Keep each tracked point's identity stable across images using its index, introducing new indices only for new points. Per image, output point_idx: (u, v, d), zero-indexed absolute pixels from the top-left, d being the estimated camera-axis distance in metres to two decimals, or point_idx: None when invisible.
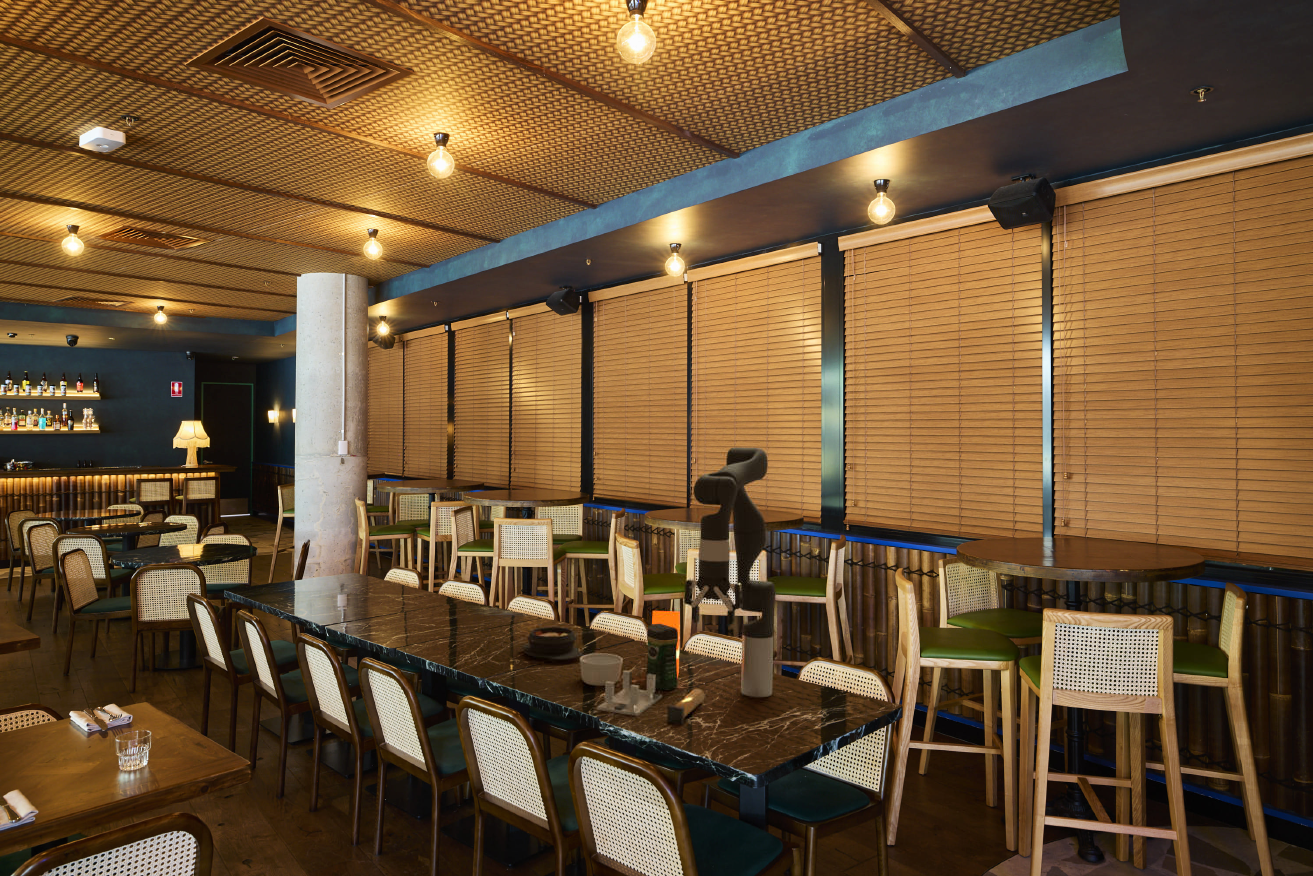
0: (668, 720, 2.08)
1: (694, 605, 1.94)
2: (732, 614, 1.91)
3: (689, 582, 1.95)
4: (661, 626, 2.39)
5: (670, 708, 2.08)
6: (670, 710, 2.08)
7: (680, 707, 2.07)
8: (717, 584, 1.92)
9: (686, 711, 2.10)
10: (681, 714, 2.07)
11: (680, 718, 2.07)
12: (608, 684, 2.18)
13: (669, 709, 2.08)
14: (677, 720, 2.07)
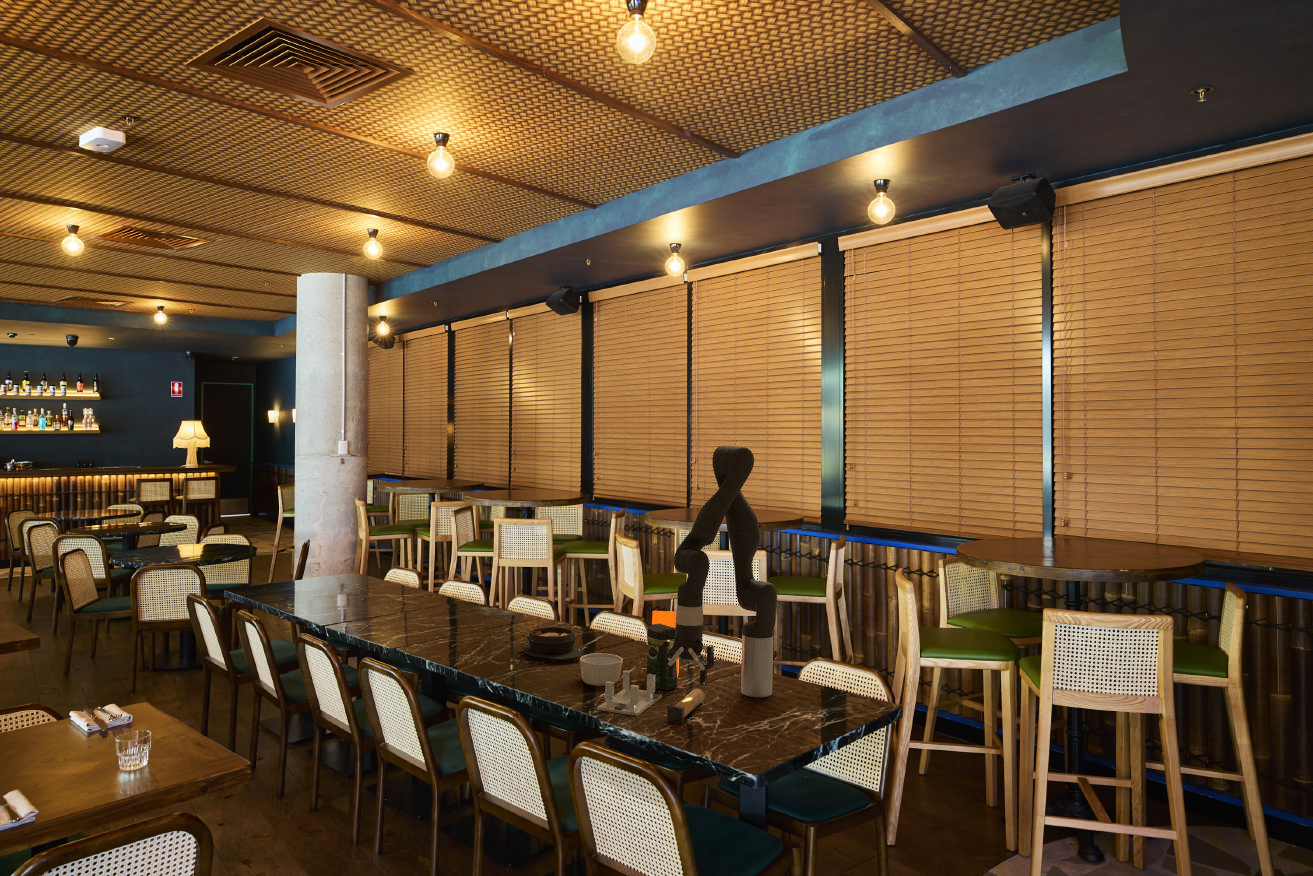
0: (668, 720, 2.08)
1: (671, 664, 2.17)
2: (704, 673, 2.14)
3: (666, 643, 2.17)
4: (661, 626, 2.39)
5: (670, 708, 2.08)
6: (670, 710, 2.08)
7: (680, 707, 2.07)
8: (691, 646, 2.15)
9: (686, 711, 2.10)
10: (681, 714, 2.07)
11: (680, 718, 2.07)
12: (608, 684, 2.18)
13: (669, 709, 2.08)
14: (677, 720, 2.07)
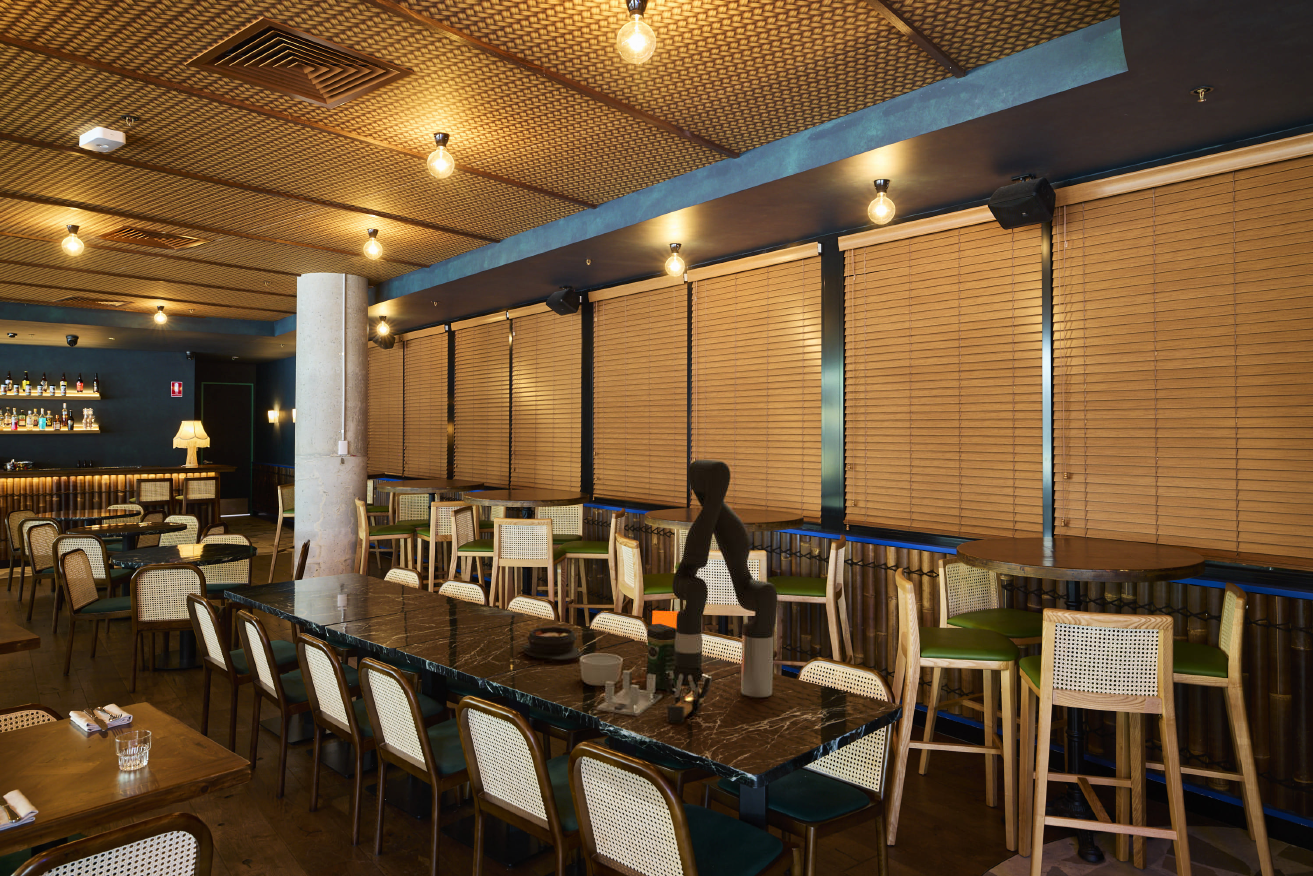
0: (668, 720, 2.08)
1: (677, 695, 2.16)
2: (697, 702, 2.15)
3: (666, 674, 2.17)
4: (661, 626, 2.39)
5: (670, 708, 2.08)
6: (670, 710, 2.08)
7: (680, 707, 2.07)
8: (691, 673, 2.15)
9: (686, 711, 2.10)
10: (681, 714, 2.07)
11: (680, 718, 2.07)
12: (608, 684, 2.18)
13: (669, 709, 2.08)
14: (677, 720, 2.07)
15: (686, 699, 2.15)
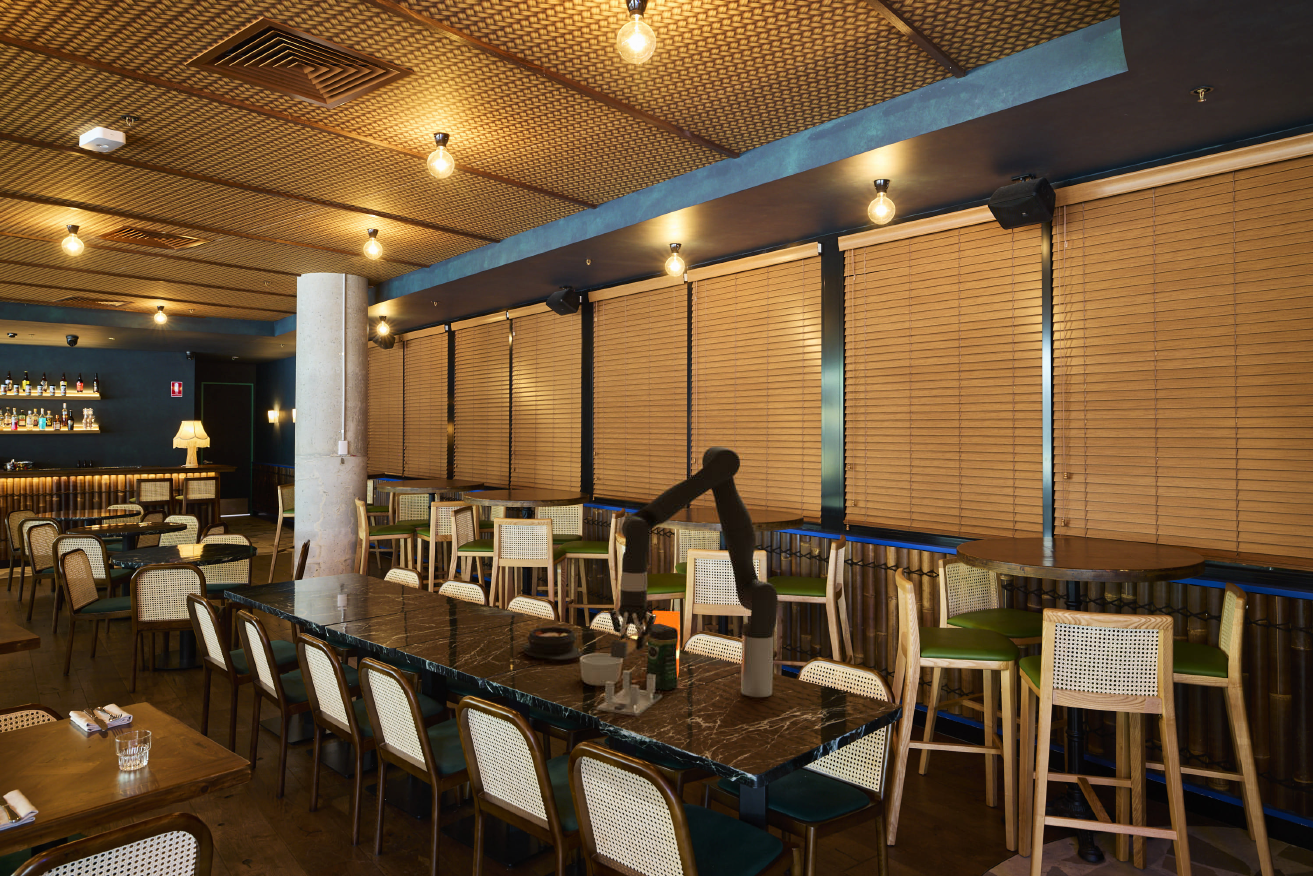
0: (611, 655, 2.14)
1: (622, 633, 2.22)
2: (641, 640, 2.21)
3: (612, 612, 2.23)
4: (661, 626, 2.39)
5: (614, 643, 2.14)
6: (613, 645, 2.14)
7: (623, 642, 2.13)
8: (635, 611, 2.21)
9: (629, 647, 2.16)
10: (624, 649, 2.13)
11: (623, 652, 2.13)
12: (608, 684, 2.18)
13: (613, 644, 2.14)
14: (620, 654, 2.13)
15: (630, 636, 2.21)
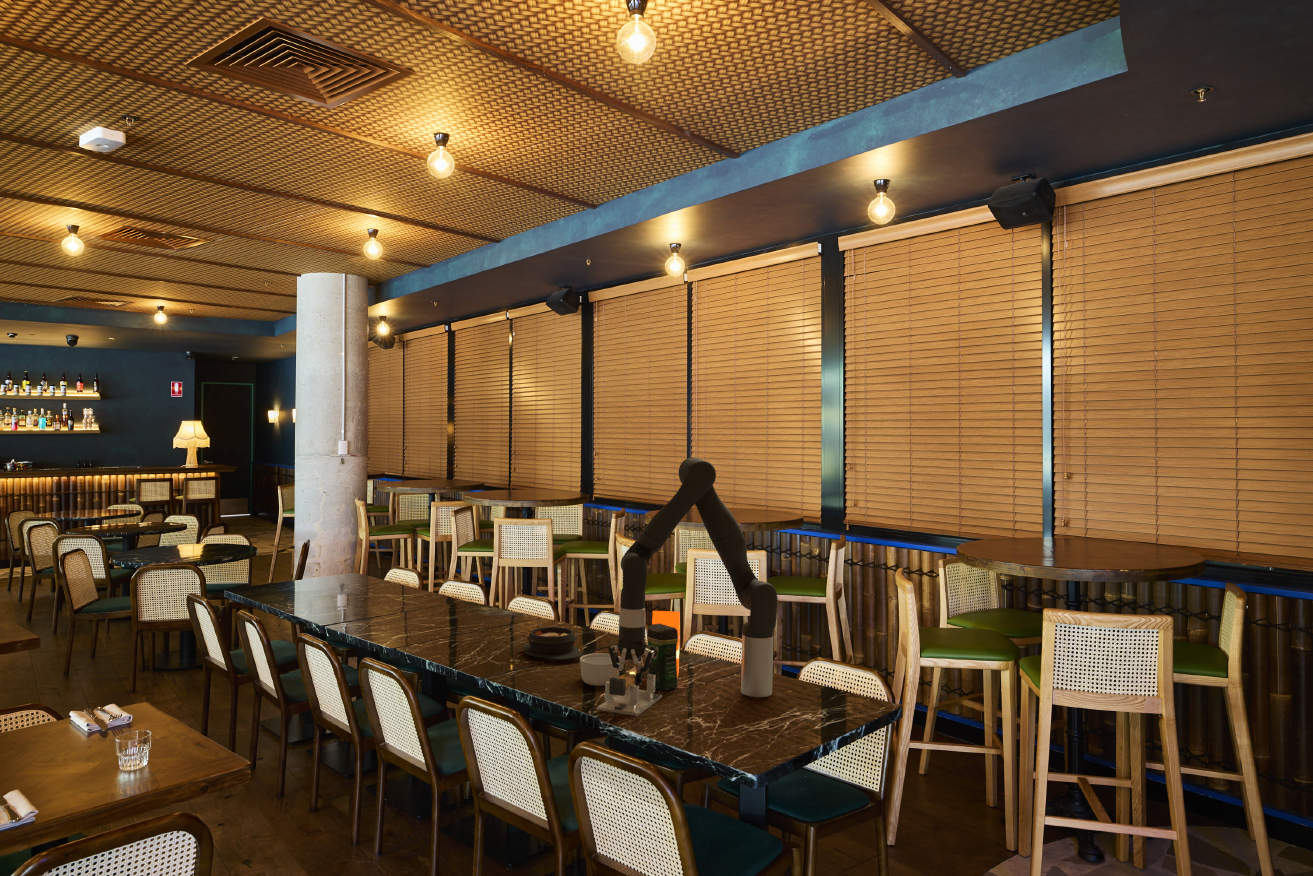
0: (610, 692, 2.14)
1: (621, 669, 2.22)
2: (640, 676, 2.21)
3: (611, 648, 2.24)
4: (661, 626, 2.39)
5: (612, 680, 2.14)
6: (612, 682, 2.14)
7: (621, 679, 2.14)
8: (634, 647, 2.21)
9: (628, 683, 2.16)
10: (622, 686, 2.13)
11: (621, 690, 2.13)
12: (608, 684, 2.18)
13: (611, 681, 2.14)
14: (618, 692, 2.13)
15: (629, 672, 2.21)
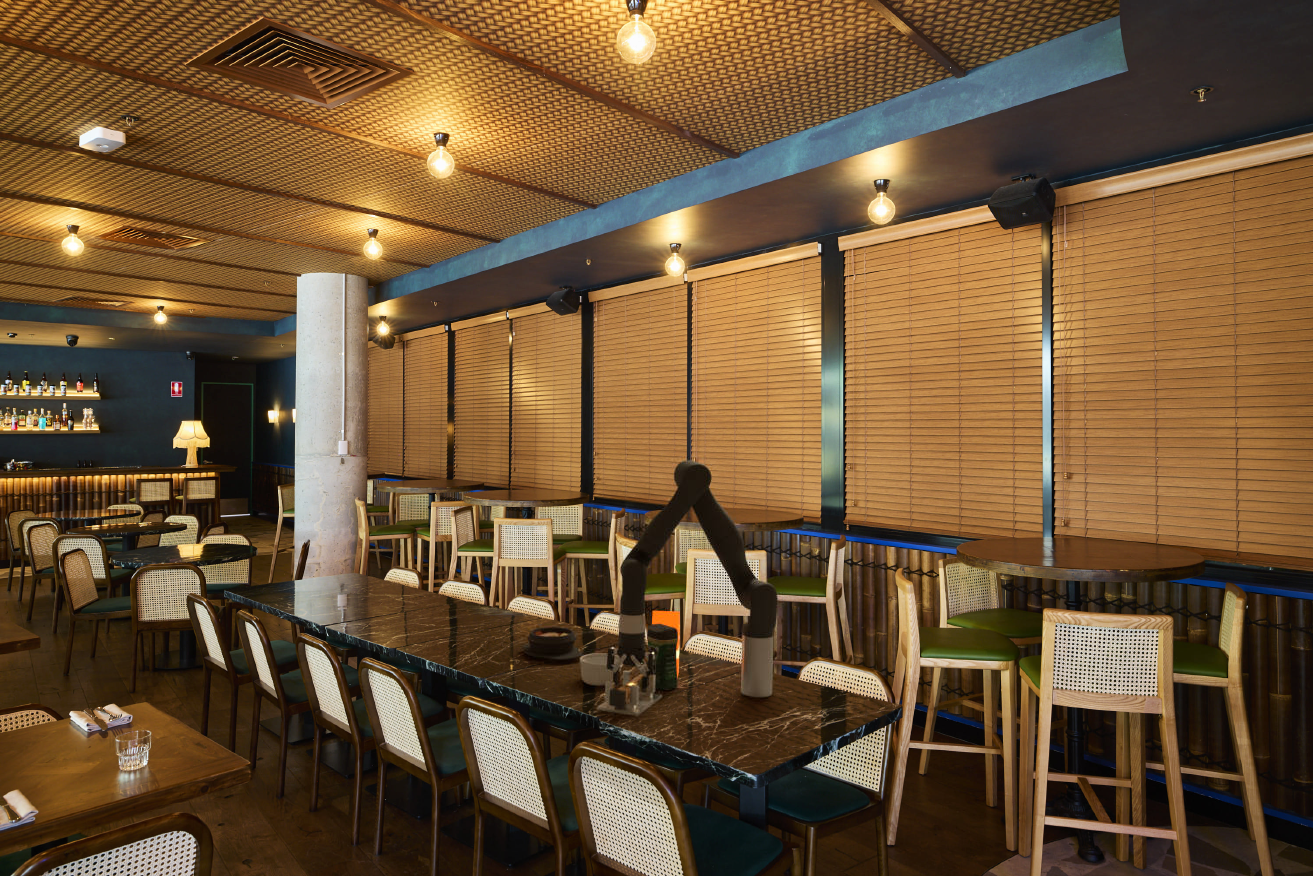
0: (610, 703, 2.14)
1: (615, 670, 2.23)
2: (646, 679, 2.20)
3: (610, 650, 2.24)
4: (661, 626, 2.39)
5: (612, 691, 2.14)
6: (612, 694, 2.14)
7: (622, 691, 2.14)
8: (634, 653, 2.21)
9: (628, 695, 2.16)
10: (622, 697, 2.13)
11: (621, 701, 2.13)
12: (608, 684, 2.18)
13: (611, 692, 2.14)
14: (618, 703, 2.13)
15: (629, 684, 2.21)
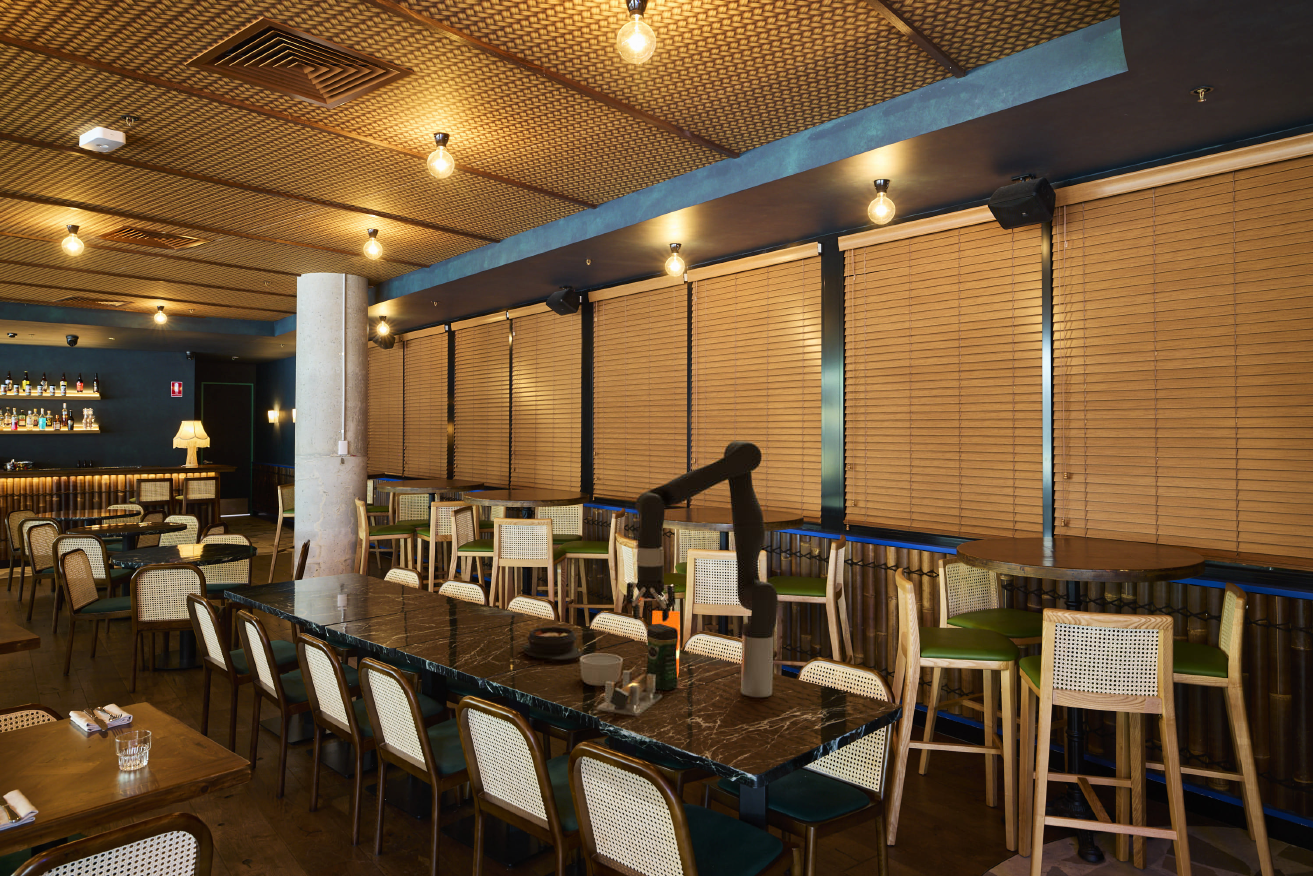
0: (611, 701, 2.14)
1: (634, 604, 2.26)
2: (666, 611, 2.22)
3: (630, 584, 2.26)
4: (661, 626, 2.39)
5: (616, 691, 2.13)
6: (616, 693, 2.13)
7: (626, 693, 2.13)
8: (653, 586, 2.23)
9: None
10: (625, 700, 2.13)
11: (623, 703, 2.13)
12: (608, 684, 2.18)
13: (615, 691, 2.14)
14: (619, 704, 2.13)
15: None
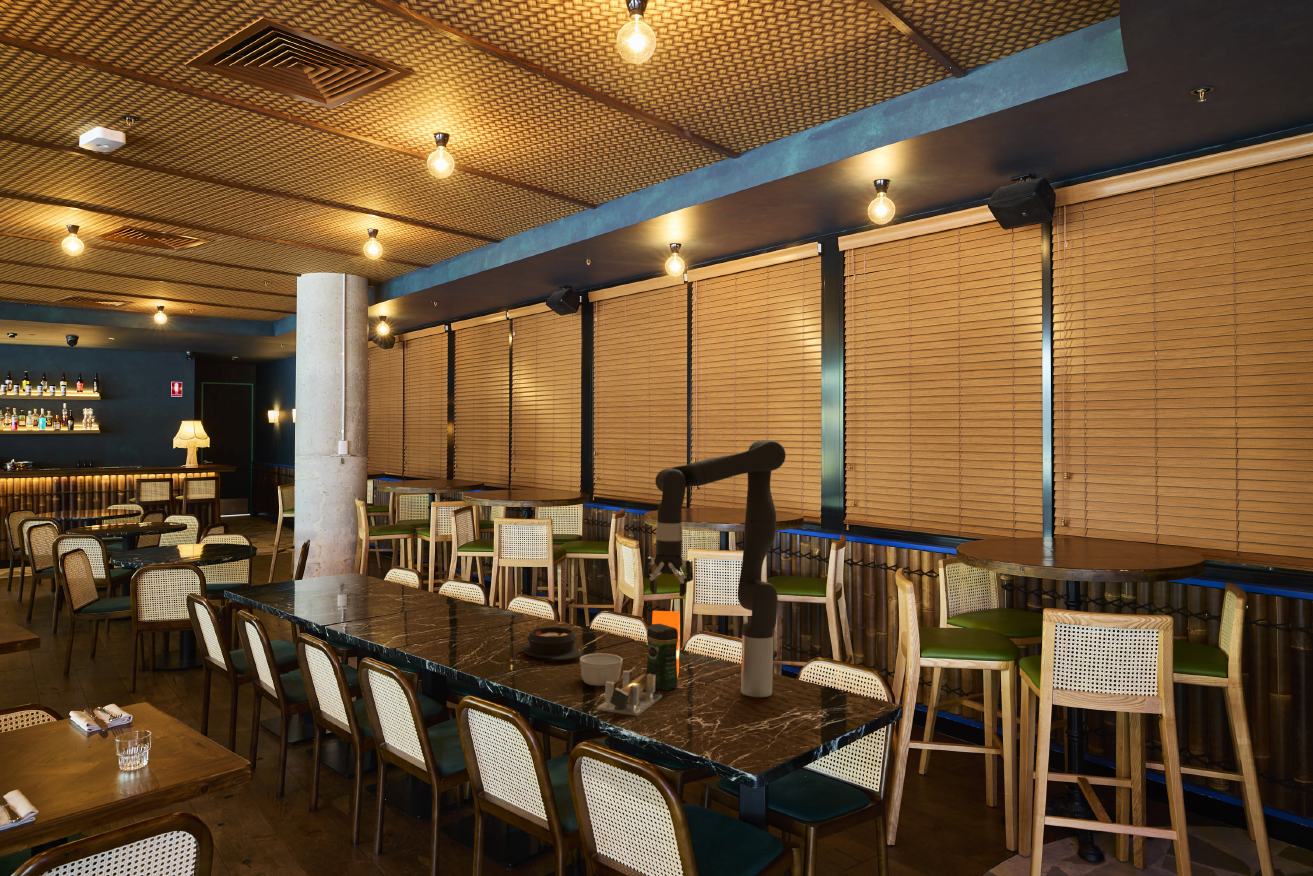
0: (611, 701, 2.14)
1: (652, 579, 2.27)
2: (684, 586, 2.24)
3: (648, 559, 2.28)
4: (661, 626, 2.39)
5: (616, 691, 2.13)
6: (616, 693, 2.13)
7: (626, 693, 2.13)
8: (671, 561, 2.25)
9: None
10: (625, 700, 2.13)
11: (623, 703, 2.13)
12: (608, 684, 2.18)
13: (615, 691, 2.14)
14: (619, 704, 2.13)
15: None
